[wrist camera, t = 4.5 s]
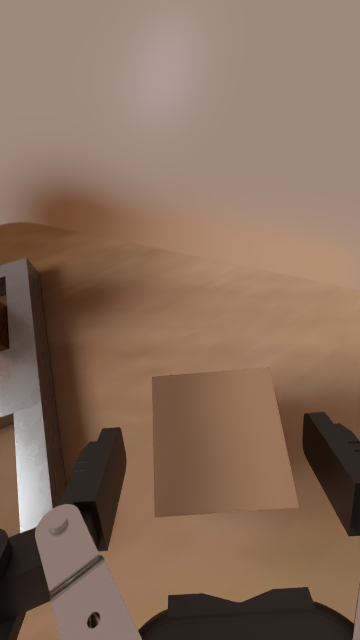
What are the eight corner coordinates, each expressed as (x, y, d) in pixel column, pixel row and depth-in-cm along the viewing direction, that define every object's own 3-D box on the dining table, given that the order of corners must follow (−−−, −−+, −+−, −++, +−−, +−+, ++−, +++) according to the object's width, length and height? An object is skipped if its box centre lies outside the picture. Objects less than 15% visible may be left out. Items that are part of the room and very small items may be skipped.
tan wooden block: (236, 407, 19) (266, 356, 10) (247, 484, 17) (299, 507, 8) (175, 411, 19) (151, 365, 10) (180, 489, 17) (154, 516, 8)
